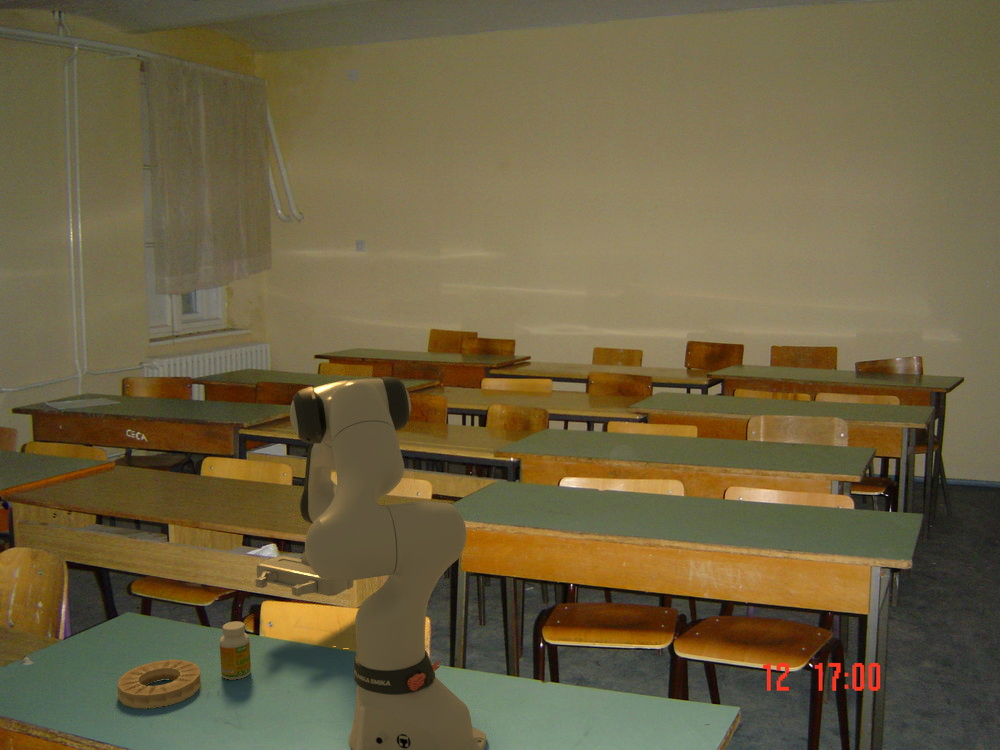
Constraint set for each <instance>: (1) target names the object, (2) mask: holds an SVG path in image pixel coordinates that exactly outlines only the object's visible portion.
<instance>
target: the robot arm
mask: <svg viewBox="0 0 1000 750" xmlns="http://www.w3.org/2000/svg"><path fill="white" fill-rule="evenodd" d="M411 411H412V403H411V398H410V394H409V391H408V390H407V388H406V387H405V384H404V382H403V381H401V380H400V379H399V378H397V377H394V376H393V377H392V376H381V377H380V378H360V379H351V380H347V379H345V380H339V381H334V382H330V383H325V384H322V385H318V386H312V385H311V386H308V387H305V388H302V389H300V390H298V391H296V393H295V394H294V395H293V397H292V402H291V405H290V409H289V418H290V419H289V420H290V424H291V426H292V428H293V431H294V432H295V433H296V435H297V437H298V440H301V441H302V442H303V443H306V444H309V447H308V449H307V454H306V461H305V463H306V464H305V472H304V474H305V475H304V483H303V485H304V486H303V491H302V494H301V497H300V501H299V510H300V514H301V515H300V516H301V518H302V519H303V520H304V522H307V523H309V524H311V525H310V527H309V529H308V531H307V533H306V538H305V541H304V551H303V552H302V554H301V555H300V558H298V557H293V556H288V555H278V556H273V557H270V558H269V559H265V560H262V561H260V562H258V563H257V565H256V579H255V588H259V589H260V588H261V589H264V588H266V587H268V584H272V585H277V586H281V587H286V588H291V591H292V592H291V595H293V596H295V597H301V596H303V595H308V594H319V595H322V596H327V597H330V596H331V597H332V596H337V595H339V594H341V593H343V592H345V591H346V590H350V589H352V588H354V581H357V580H364V579H365V580H366V579H370V578H379V577H385V576H388V577H387V579H386V581H385V582H384V583H383V585H381V587H380V588H379V589H378V590H376V591H375V592H373V593H372V594H371V595H369V596H368V597H367V598H365V599H364V600H363V602H362V603H361V604H360V605H359V607H358V609H357V612H356V613H355V618H354V619H355V620H354V621H355V622H354V623H355V624H354V625H355V647H356V649H355V650H356V652H355V653H356V654H355V656H354V659H353V662H354V663H353V670H354V671H353V675H354V682H355V683H356V693H355V694H356V698H355V709H354V717H353V723H352V727H351V732H350V736H349V739H348V743H349V747H350V748H351V750H485V749H486V746H487V735H486V733H485V732H484V731H482V730H480V729H478V728H476V727H473V723H472V719H471V718H472V717H471V713H470V710H469V708H468V706H467V705H466V703H465V702H464V701H462V700H461V698H459V697H458V696H457V695H456V694H455V693H453V691H451V690H450V688H448V687H447V685H445V684H444V683H443V682H442V681H441V680H440V679H438V677H436V673H435V672H436V671H437V670H438V669H439V668H440V667H441V666H440V662H441V661H440V660H437V661H435V662H434V663H433V664H432V662H431V659H430V656H429V654H428V652H427V650H426V619H427V618H426V617H427V609H428V605H429V601H430V598H431V596H432V593H433V591H434V589H435V587H436V586H437V585H436V584H437V583H438V582H439V579H440V578H441V577H442V575H443V574H444V573H445V572H446V571H447V570H448V568H450V567H451V566H452V565H453V564H454V563H455V562H456V561H458V560H459V558H460V557H461V555H462V553H463V551H464V549H465V546H466V543H467V526H466V522H465V520H464V517H463V516H462V514H461V513H460V511H459V510H458V508H456V507H455V506H454V505H453V504H452V503H449V502H441V501H427V500H420V501H419V500H418V501H411V502H402V503H395V504H386V505H385V504H380V503H379V502H378V501H379V500H380V499H382V498H383V497H385V496H386V495H388V494H389V493H391V492H392V491H394V490H395V488H397V486H398V485H399V484H400V483H401V481H402V480H403V478H404V477H403V476H404V473H405V462H404V458H403V455H402V451H401V448H400V446H401V445H400V443H399V439H398V435H397V431H399V430H402V429H404V428H405V427H406V426H407V424H408V422H409V421H410V415H411ZM333 471H335V472H336V480H337V481H336V483H335V482H334V481H333V480H332V473H333Z"/></svg>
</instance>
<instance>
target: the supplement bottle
mask: <svg viewBox="0 0 1000 750" xmlns="http://www.w3.org/2000/svg"><path fill="white" fill-rule="evenodd" d="M245 631H246V626H245V623H244V622H242V621H229V622H227V623H225V624H224V625H222V634H223V636H221V637H220V638H219V639H220V640H219V653H220V654H219V656H220V670H221V671H220V673H221V677H222V678H223V679H224V678H225V680H227V679H229V680H228V681H236V679H238V680H242V679H245V678H246V676H247V677H248V676H249V675H250V674H251V671H252V667H251V650H250V649H251V645H250V637H249V634H247V633H246V632H245ZM244 677H245V678H244ZM241 678H242V679H241Z"/></svg>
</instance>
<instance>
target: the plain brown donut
mask: <svg viewBox="0 0 1000 750" xmlns="http://www.w3.org/2000/svg"><path fill="white" fill-rule="evenodd" d="M161 679H169V680H174V681H171V682H168V683H164V684H160V685H147V684H148V683H151V682H154V681H157V680H161ZM200 680H201V668H200V666H198V665H197V664H196V663H194V662H191V661H187V660H184V659H165V660H159V661H157V660H156V661H151V662H149V663H145V664H142V665H139V666H136V667H134V668H132V669H130V670H129V671H126V672H125V673H124V674H123V675H122V676H121V677H119V679H118V682H117V696H118V700H119V701H120V703H121V704H122V705H123V706H127V707H130V708H132V709H146V710H147V708H149V709H148V710H151V709H157V708H156V707H158V708H163V707H162V706H165V707H169V706H171V705H175V704H178V703H181V702H184V701H185V700H186V699H188V698H191V697H192V696H194V695H195V694H196V693H197V692H198V691H199V690H200V689H201V682H200ZM151 684H152V683H151ZM145 685H147V686H145ZM198 689H199V690H198ZM197 690H198V691H197ZM196 691H197V692H196ZM195 692H196V693H195ZM194 693H195V694H194ZM168 705H169V706H168ZM150 708H151V709H150Z"/></svg>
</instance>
